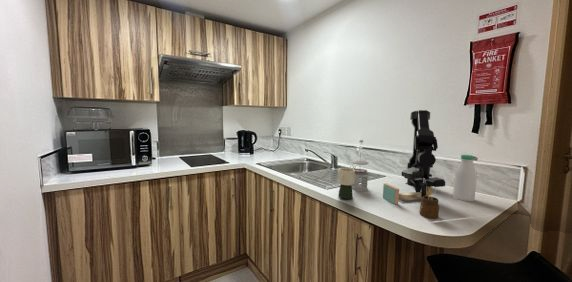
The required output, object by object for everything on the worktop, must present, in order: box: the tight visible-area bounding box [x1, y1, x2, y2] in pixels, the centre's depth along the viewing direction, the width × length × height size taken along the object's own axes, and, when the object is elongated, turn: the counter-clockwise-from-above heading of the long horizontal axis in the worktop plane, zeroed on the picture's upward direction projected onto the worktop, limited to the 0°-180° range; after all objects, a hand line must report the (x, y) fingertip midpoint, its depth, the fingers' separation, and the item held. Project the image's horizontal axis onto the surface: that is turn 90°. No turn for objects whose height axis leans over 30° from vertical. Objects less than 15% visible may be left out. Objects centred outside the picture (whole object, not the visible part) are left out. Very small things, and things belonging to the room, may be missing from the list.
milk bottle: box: [452, 154, 478, 203], centre depth 103 cm, size 8×8×20 cm
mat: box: [398, 199, 422, 204], centre depth 102 cm, size 18×8×1 cm, turn 103°
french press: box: [349, 139, 369, 192], centre depth 114 cm, size 10×12×25 cm
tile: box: [382, 183, 400, 205], centre depth 99 cm, size 2×8×7 cm, turn 13°
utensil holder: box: [419, 187, 440, 220], centre depth 84 cm, size 6×6×12 cm
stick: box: [399, 191, 428, 201], centre depth 102 cm, size 14×2×2 cm, turn 103°
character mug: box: [337, 167, 355, 200], centre depth 103 cm, size 11×7×13 cm, turn 141°
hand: (420, 196), depth 103 cm, fingers closed on stick, 2 cm apart
